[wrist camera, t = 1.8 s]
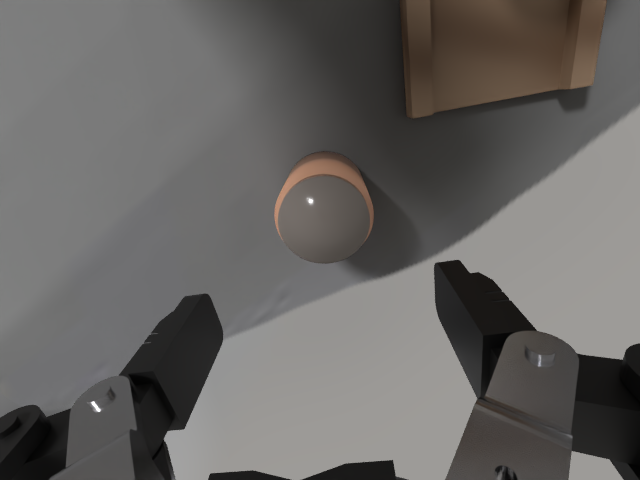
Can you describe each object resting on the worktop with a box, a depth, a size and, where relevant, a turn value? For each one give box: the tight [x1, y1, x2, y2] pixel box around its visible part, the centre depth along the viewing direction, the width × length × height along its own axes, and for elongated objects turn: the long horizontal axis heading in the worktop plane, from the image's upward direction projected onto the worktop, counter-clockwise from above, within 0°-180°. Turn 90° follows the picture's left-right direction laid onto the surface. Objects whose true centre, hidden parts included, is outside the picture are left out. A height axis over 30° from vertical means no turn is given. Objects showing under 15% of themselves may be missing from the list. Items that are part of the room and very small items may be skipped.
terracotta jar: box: [275, 151, 374, 264], centre depth 20 cm, size 6×6×6 cm
